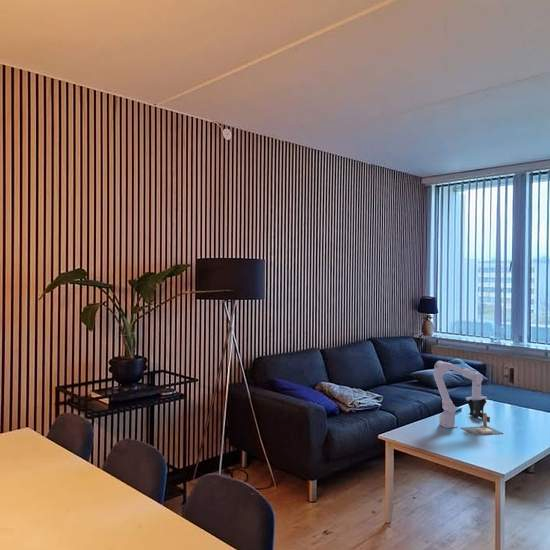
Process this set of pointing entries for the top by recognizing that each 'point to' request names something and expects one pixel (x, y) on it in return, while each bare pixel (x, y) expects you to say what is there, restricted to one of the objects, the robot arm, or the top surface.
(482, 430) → the tile
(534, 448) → the top surface
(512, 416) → the top surface
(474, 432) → the mat
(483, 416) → the tamper
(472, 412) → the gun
